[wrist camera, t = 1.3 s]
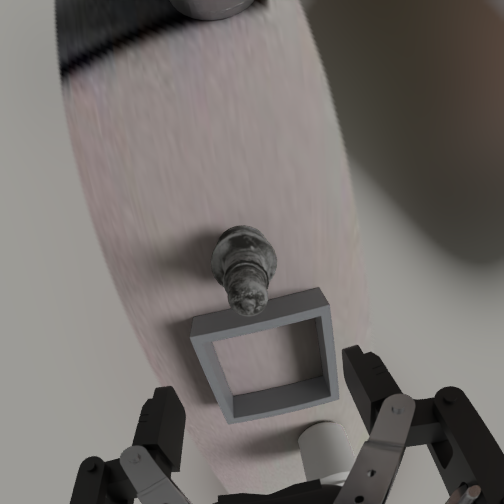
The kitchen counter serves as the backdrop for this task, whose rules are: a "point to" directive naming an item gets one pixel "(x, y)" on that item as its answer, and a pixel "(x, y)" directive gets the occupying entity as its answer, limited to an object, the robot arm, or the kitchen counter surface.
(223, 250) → the chess piece
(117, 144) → the kitchen counter surface
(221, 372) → the bin
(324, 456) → the can
